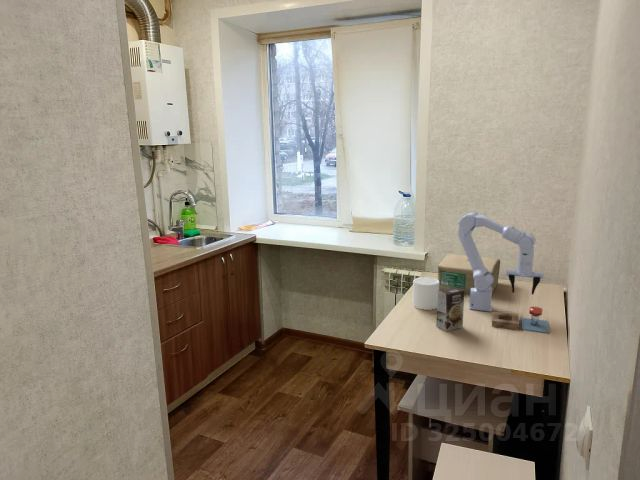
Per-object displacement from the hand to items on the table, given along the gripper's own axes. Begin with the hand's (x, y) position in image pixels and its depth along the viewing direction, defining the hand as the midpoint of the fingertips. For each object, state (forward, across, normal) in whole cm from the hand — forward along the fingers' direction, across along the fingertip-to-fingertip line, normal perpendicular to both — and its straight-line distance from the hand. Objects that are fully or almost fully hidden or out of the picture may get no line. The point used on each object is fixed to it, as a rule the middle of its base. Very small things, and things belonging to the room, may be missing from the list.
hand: (522, 292), depth 199 cm
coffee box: (+11, -28, -22) cm, 37 cm away
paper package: (+11, -24, +32) cm, 41 cm away
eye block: (+10, -6, -11) cm, 16 cm away
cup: (+11, -41, -1) cm, 42 cm away
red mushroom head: (+10, +5, -10) cm, 15 cm away
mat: (+10, +5, -10) cm, 15 cm away
